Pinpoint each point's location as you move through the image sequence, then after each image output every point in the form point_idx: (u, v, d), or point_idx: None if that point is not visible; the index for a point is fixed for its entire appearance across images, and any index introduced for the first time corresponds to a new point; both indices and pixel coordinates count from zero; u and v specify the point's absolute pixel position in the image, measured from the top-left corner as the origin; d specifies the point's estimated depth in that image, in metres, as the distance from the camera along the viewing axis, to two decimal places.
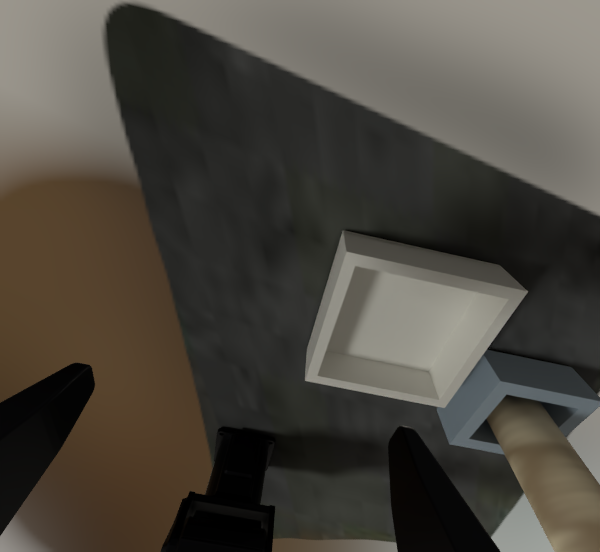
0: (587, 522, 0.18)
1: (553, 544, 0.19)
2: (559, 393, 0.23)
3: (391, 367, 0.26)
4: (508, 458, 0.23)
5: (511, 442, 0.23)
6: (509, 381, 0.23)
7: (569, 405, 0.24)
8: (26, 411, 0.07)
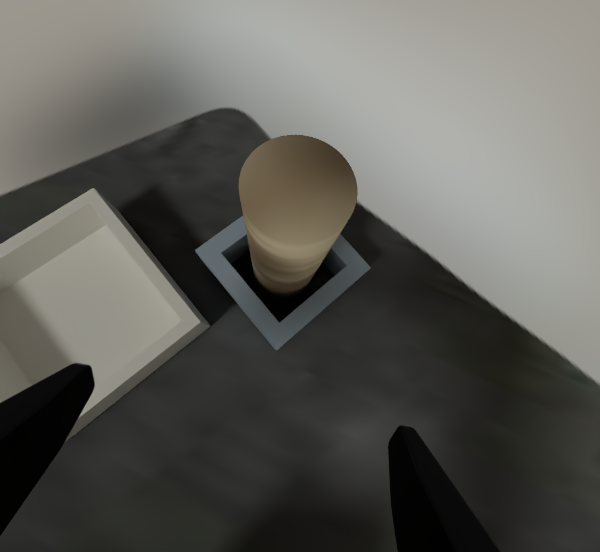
0: None
1: (272, 251, 0.12)
2: None
3: None
4: (272, 280, 0.17)
5: (255, 268, 0.18)
6: (205, 243, 0.20)
7: None
8: (26, 411, 0.07)
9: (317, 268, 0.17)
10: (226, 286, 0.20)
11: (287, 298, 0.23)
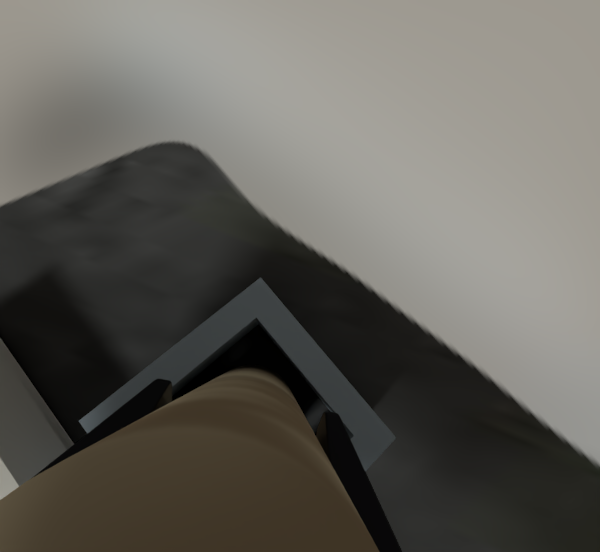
0: None
1: None
2: (190, 334, 0.12)
3: None
4: None
5: None
6: (102, 403, 0.11)
7: (236, 328, 0.12)
8: None
9: None
10: None
11: None
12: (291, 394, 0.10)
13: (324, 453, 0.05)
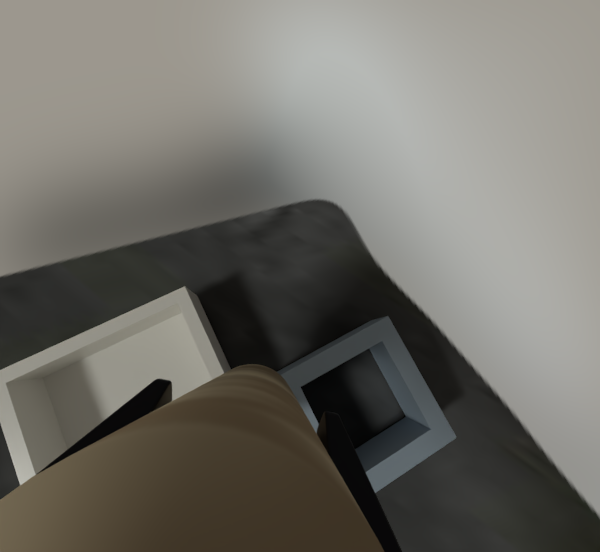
0: None
1: None
2: (341, 342, 0.19)
3: None
4: None
5: None
6: (286, 371, 0.19)
7: (369, 345, 0.20)
8: None
9: None
10: None
11: None
12: (292, 393, 0.10)
13: (326, 451, 0.05)
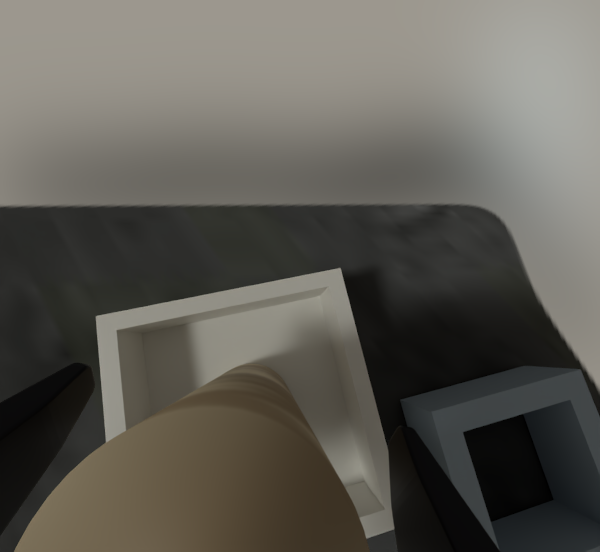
0: None
1: None
2: (519, 387, 0.15)
3: None
4: None
5: None
6: (445, 406, 0.15)
7: (553, 401, 0.15)
8: (26, 411, 0.07)
9: None
10: (455, 486, 0.14)
11: None
12: (288, 390, 0.12)
13: (313, 433, 0.06)
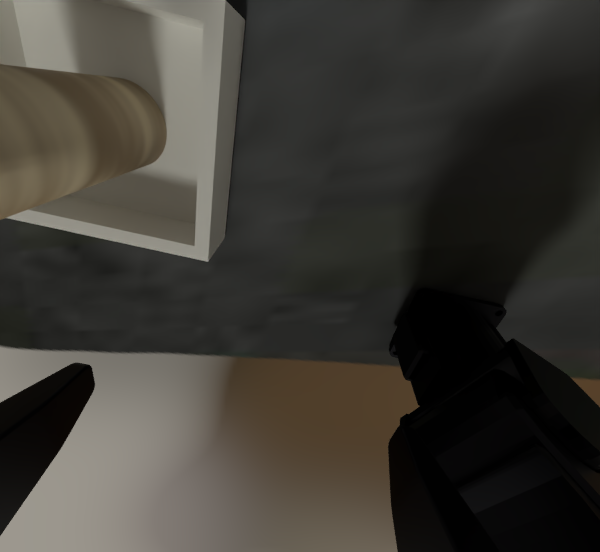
0: None
1: None
2: None
3: None
4: (90, 180, 0.12)
5: None
6: None
7: None
8: (26, 411, 0.07)
9: (67, 108, 0.10)
10: None
11: (162, 137, 0.16)
12: None
13: None
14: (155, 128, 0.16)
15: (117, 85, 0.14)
